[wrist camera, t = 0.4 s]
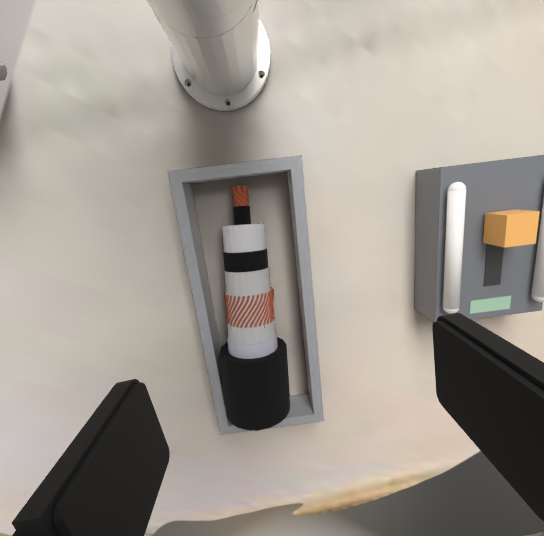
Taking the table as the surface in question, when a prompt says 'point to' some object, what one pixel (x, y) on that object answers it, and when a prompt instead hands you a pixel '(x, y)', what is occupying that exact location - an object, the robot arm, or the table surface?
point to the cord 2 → (539, 265)
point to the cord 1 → (454, 246)
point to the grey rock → (2, 71)
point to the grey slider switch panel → (477, 237)
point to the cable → (251, 328)
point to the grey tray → (301, 406)
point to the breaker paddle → (511, 228)
